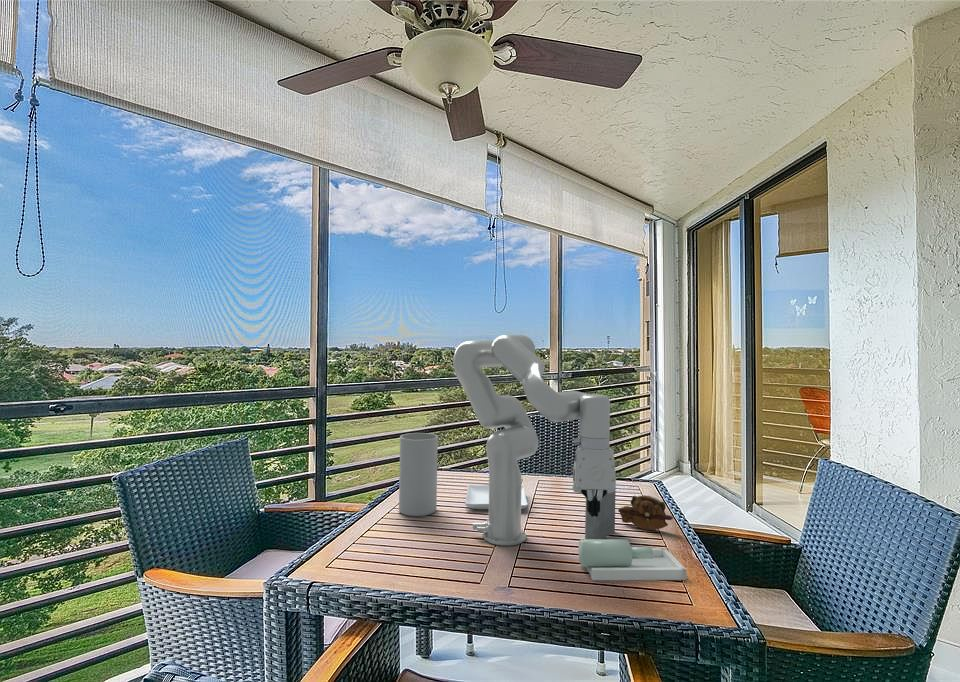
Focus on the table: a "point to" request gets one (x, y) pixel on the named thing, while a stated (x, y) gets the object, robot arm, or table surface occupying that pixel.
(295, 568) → the table surface
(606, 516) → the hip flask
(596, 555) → the bottle
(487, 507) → the salad plate
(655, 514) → the wooden carving
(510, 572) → the table surface
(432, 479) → the cylinder vase
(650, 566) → the white rectangular tray
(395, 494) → the table surface
